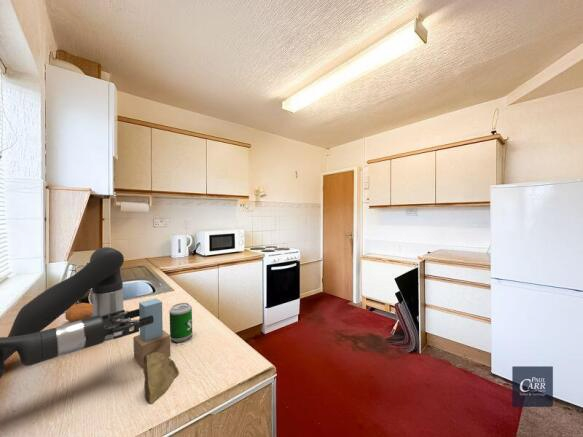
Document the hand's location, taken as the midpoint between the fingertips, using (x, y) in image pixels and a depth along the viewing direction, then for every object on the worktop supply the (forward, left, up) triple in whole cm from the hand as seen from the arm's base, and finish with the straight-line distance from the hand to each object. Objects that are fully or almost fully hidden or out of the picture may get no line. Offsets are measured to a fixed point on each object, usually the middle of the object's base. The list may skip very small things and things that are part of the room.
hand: (147, 314), depth 76 cm
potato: (-47, +22, -14) cm, 54 cm away
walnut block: (0, +1, -14) cm, 14 cm away
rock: (+12, -11, -15) cm, 22 cm away
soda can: (+3, +13, -14) cm, 20 cm away
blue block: (0, +1, -7) cm, 8 cm away
